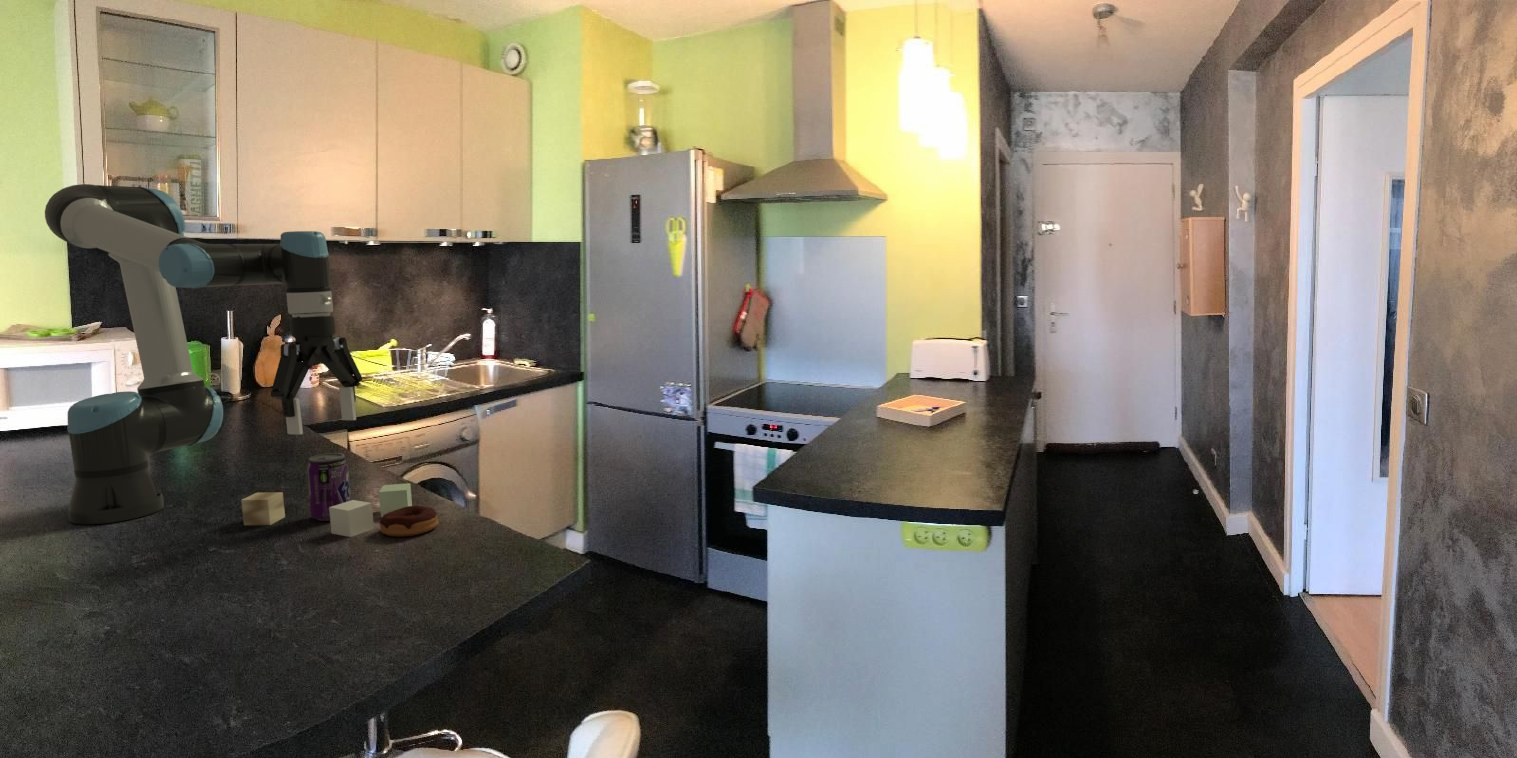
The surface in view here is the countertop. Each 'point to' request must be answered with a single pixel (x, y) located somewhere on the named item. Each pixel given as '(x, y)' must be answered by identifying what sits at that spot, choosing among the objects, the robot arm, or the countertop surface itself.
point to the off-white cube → (351, 518)
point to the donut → (409, 521)
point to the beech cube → (263, 508)
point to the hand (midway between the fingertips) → (323, 426)
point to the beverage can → (327, 483)
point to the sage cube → (394, 497)
